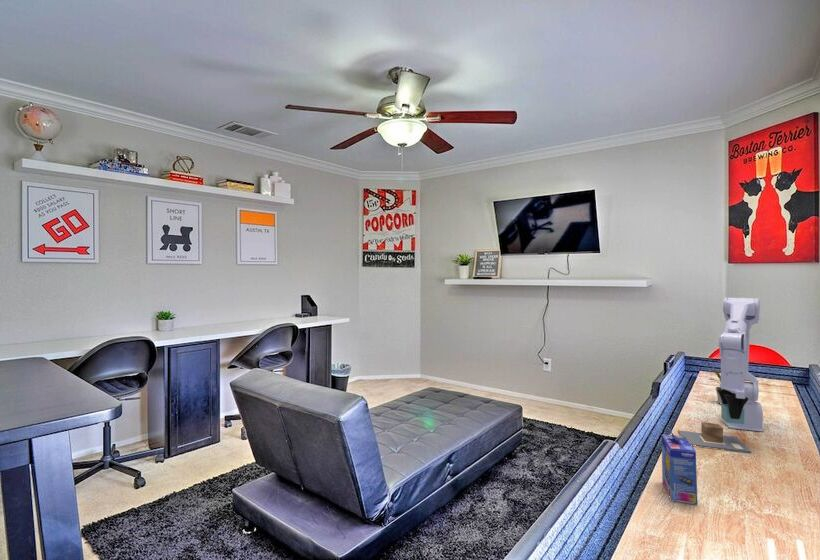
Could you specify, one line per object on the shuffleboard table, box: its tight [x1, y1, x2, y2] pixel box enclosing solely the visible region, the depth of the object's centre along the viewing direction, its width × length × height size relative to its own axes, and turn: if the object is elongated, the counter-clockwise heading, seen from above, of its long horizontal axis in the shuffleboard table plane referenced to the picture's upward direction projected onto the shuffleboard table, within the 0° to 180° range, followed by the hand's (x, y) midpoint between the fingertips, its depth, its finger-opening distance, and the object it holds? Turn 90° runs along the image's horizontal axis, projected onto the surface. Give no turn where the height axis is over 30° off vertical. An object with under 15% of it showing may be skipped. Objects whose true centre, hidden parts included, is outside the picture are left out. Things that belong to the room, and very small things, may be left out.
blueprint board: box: [677, 429, 752, 454], centre depth 133 cm, size 16×12×1 cm
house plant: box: [703, 365, 722, 404], centre depth 172 cm, size 14×14×16 cm
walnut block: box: [700, 421, 724, 443], centre depth 133 cm, size 4×4×4 cm
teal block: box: [720, 404, 744, 424], centre depth 132 cm, size 4×4×4 cm
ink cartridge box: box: [660, 428, 699, 505], centre depth 102 cm, size 10×6×14 cm, turn 161°
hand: (731, 416), depth 132 cm, fingers closed on teal block, 4 cm apart
